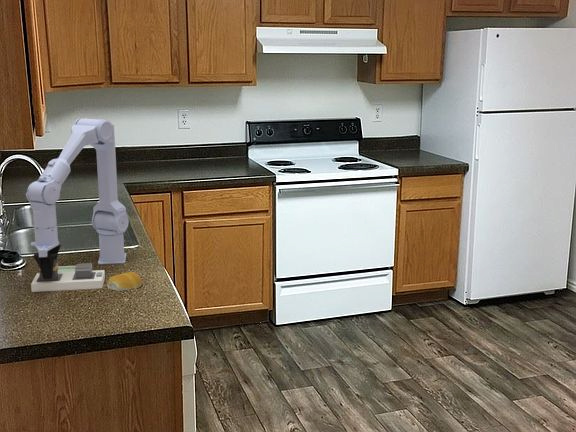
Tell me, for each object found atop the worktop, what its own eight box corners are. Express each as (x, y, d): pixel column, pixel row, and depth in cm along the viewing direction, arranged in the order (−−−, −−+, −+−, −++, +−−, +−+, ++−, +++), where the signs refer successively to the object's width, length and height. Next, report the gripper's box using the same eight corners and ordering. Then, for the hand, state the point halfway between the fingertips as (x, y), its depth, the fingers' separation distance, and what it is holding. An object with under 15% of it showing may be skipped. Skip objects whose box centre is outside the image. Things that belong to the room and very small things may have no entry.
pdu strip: (37, 281, 182) (36, 262, 181) (104, 278, 185) (103, 259, 184) (31, 293, 173) (30, 273, 172) (102, 289, 177) (101, 270, 175)
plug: (42, 283, 180) (42, 259, 178) (58, 283, 181) (57, 259, 179) (39, 288, 176) (39, 263, 174) (55, 288, 177) (55, 263, 175)
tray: (52, 269, 192) (52, 266, 192) (84, 268, 194) (84, 265, 193) (47, 280, 183) (47, 276, 183) (81, 278, 185) (81, 275, 185)
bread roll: (147, 285, 181) (147, 272, 180) (122, 295, 174) (121, 280, 173) (127, 279, 185) (126, 266, 184) (101, 288, 178) (101, 274, 177)
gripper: (34, 220, 181) (38, 267, 184) (24, 234, 167) (28, 284, 170) (61, 219, 182) (64, 266, 185) (53, 233, 168) (57, 283, 171)
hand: (49, 275), depth 178 cm, fingers open, 5 cm apart
